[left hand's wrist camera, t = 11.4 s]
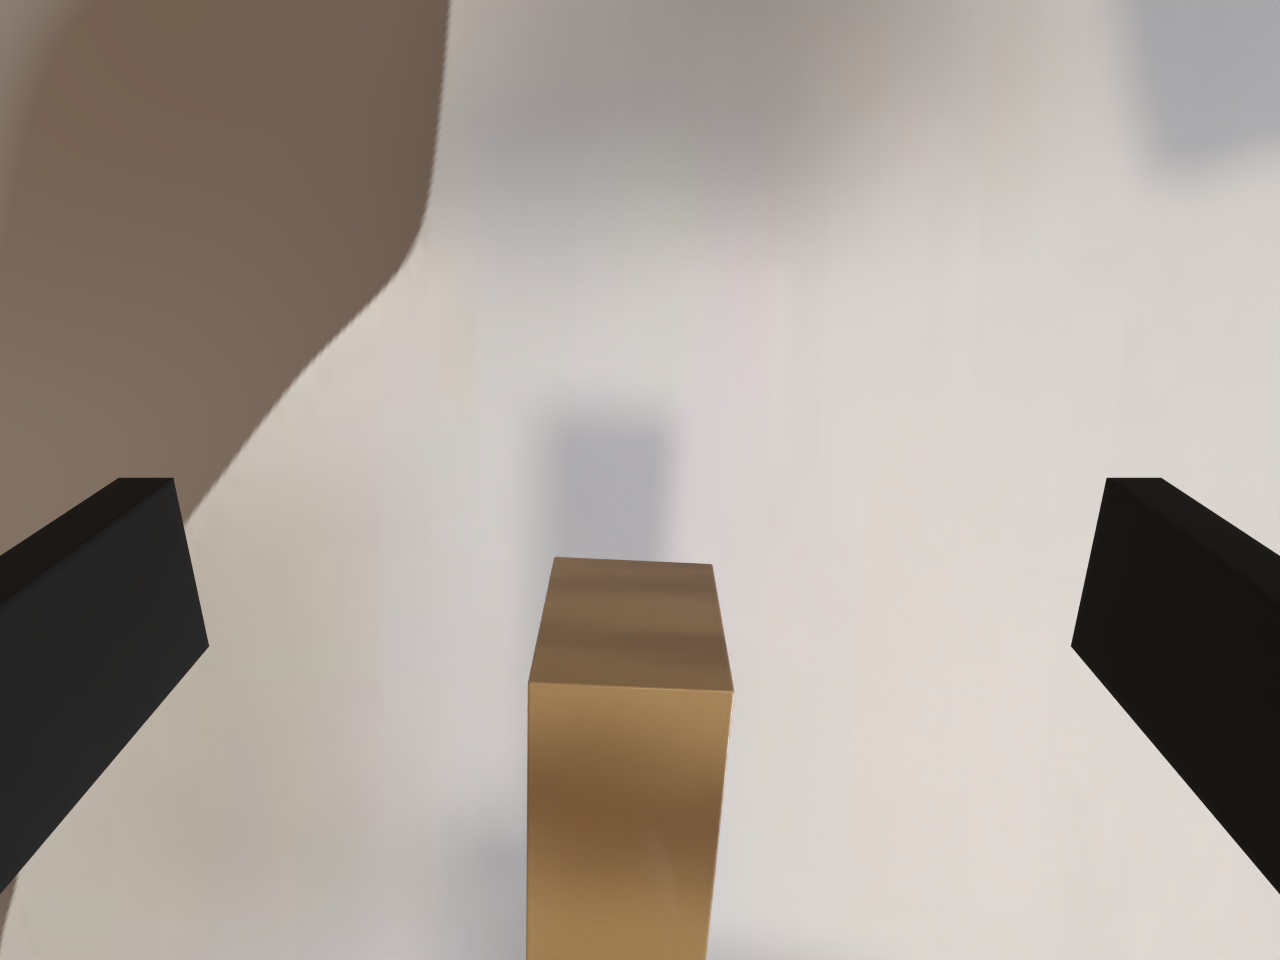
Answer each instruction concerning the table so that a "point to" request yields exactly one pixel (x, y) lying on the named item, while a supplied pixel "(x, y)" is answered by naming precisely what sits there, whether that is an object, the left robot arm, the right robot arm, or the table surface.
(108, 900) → the table surface
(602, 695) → the bar
